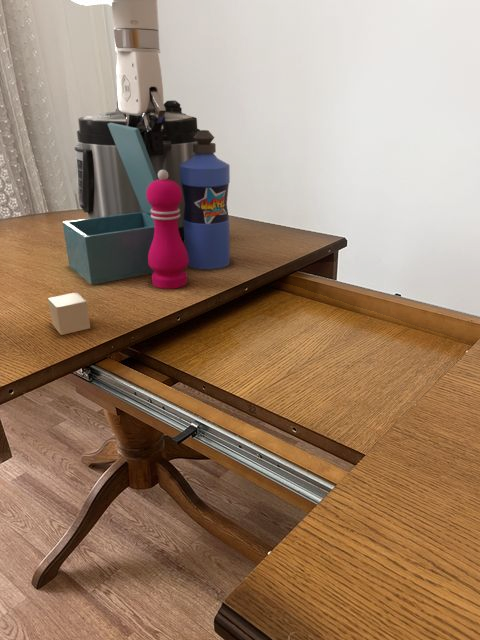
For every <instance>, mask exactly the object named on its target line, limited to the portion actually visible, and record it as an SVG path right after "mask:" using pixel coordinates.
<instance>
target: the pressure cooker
mask: <svg viewBox="0 0 480 640" xmlns="http://www.w3.org/2000/svg"><path fill="white" fill-rule="evenodd" d="M164 106H165V109H166V111H165V115H164V122H163V131H162V133H163V149H164V154H163V155H155V156H149V158H150V161H151V163H152V166H153V169H154V171H155V174H156V177H157V179H158V180H159V178H158V172H159V171H160V170H166V171H167V172H168V179H169V180H172V181H174V182H176V183H177V184H178V185H179V187H180V188H181V191H182V201H181V202H180V204H179V205H178V208H179V209H180V212H179V214H180V217H179V218H178V230H179V234H180V237H181V239H184V224H183V219H184V208H185V202H184V195H183V189H182V183H181V180H180V164H182V163H184V162H185V161H187V160H189V159H191V158H192V157H193V155H194V154H195V153H194V152H193V143H197V141H196V140H195V139H194V138H193V137H194V136H195V135H196V134H197V132H198V131H199V130H201V129H199V128H198V119H197V117H196V116H191V115H187V114H186V113H183V111H182V109H183V108H182V107H181V103H180V102H178V101H177V100H166V101H164ZM136 117H137V116H136ZM149 119H150V123H151V120H152V118H149ZM77 120H78V121H77V122H78V129H79V130H77V131H76V137H77V144H76V145H75V146H74V158H75V161H76V162H75V163H76V164H75V165H76V166H75V170H76V181H77V183H76V184H77V192H78V193H77V194H78V204H79V206H80V208H81V209H82V211H83V213H84V214H85V213H87V217H88V218H87V219H89V218H97V217H104V216H112V215H120V214H128V213H136V212H145V211H143V210H142V209H141V206H140V204H139V201H138V199H137V196H136V194H135V191H134V189H133V186H132V184H131V181H130V179H129V177H128V174H127V172H126V169H125V167H124V164H123V162H122V159H121V157H120V154H119V152H118V149H117V147H116V144H115V142H114V139H113V137H112V134H111V132H110V129H109V127H108V124H109V123H115V124H120V125H124V126H126V118H125V116H124V113H122V112H121V111H120V110H119V105H118V100H117V101H116V108H115V111H108V112H101V113H95V114H91V115H90V114H89V115H86V116H81V117H78V118H77ZM142 123H145V122H144V119H142ZM144 136H145V135H144ZM145 147H146V144H145ZM146 213H148V212H146ZM148 214H150V213H148ZM150 215H151V214H150Z"/></svg>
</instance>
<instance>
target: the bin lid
mask: <svg viewBox="0 0 480 640" xmlns="http://www.w3.org/2000/svg"><path fill="white" fill-rule="evenodd" d="M108 127H109V129H110V132H111V134H112V137H113V139H114V142H115V144H116V147H117V149H118V152H119V154H120V157H121V159H122V162H123V164H124V167H125V169H126V172H127V174H128V177H129V179H130V181H131V184H132V186H133V189H134V191H135V194H136V196H137V199H138V201H139V204H140V206H141V209H142V210H143V211H145V212H148V213H150V214H151V211H150V210H151V209H152V206H151V205H150V204H149V202H148V201H147V197H146V192H147V188H148V186H149V185H150V184H151V183H152V182H153V181H155V180H158V179H157V177H156V174H155V171H154V169H153V166H152V163H151V161H150V158H149V155H148V152H147V150H146V147H145V144H144V142H143V139H142V136H144V135H145V132H147V130H146V126H145V123H141V122H140V123H138V124H137V125H136V128H134V127H129V126H124V125H120V124H115V123H109V124H108Z"/></svg>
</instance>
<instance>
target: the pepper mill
mask: <svg viewBox="0 0 480 640" xmlns="http://www.w3.org/2000/svg"><path fill="white" fill-rule="evenodd" d="M158 178H159V180H155V181H153V182H152V183H151V184H150V185H149V186H148V188H147V192H146V197H147V201H148V202H149V204H150V205H151V206H152V209H151V210H150V211H151V217H152V218H153V219H154V225H155V227H154V238H153V241H152V244H151V247H150V250H149V254H148V264H149V266H150V268H151V269H152V270H153V271H154V273H151V282H152V285H153V286H154V287H155V288H158V289H163V290H164V289H165V290H170V289H173V290H174V289H178V288H182V287H184V286H186V285H187V283H188V273H187V272H186V271H185V269H186V268H187V267H188V263H189V259H188V253H187V250H186V248H185V246H184V241H183V240H182V238H181V237H180V234H179V230H178V218H179V217H180V214H179V212H180V209H179V208H178V205H179V204H180V202H181V201H182V191H181V188H180V187H179V185H178V184H177V183H176V182H174V181H172V180H169V179H168V172H167V171H166V170H160V171H159V172H158Z"/></svg>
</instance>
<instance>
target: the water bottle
mask: <svg viewBox="0 0 480 640" xmlns="http://www.w3.org/2000/svg"><path fill="white" fill-rule="evenodd" d="M193 138H194V139H195V140H196V141H197V143H193V152H194V153H195V154H194V155H193V157H192V158H191V159H189V160H187V161H185V162H184V163H182V164H180V180H181V183H182V189H183V195H184V202H185V208H184V219H183V224H184V238H183V244H184V246H185V248H186V250H187V253H188V259H189V263H188V265H187V267H190V268H193V269H196V270H197V269H198V270H215V269H222V268H225V267H227V266H228V265H229V264H230V262H231V259H230V257H231V256H230V253H231V252H230V251H231V249H230V243H231V242H230V215H229V210H228V196H229V185H230V179H231V178H230V177H231V176H230V175H231V174H230V164H229V163H227V162H225V161H223V160H222V159H220V158H218V157H217V155H216V154H215V153H216V152H217V150H216V149H217V148H216V147H217V146H216V143H215V142H213V141H214V139H215V136H214V135H213V133H211V132H210V131H209V130H208V129H207V130H206V129H200V130H199V131H198V132H197V134H196V135H195V136H194V137H193Z"/></svg>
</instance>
